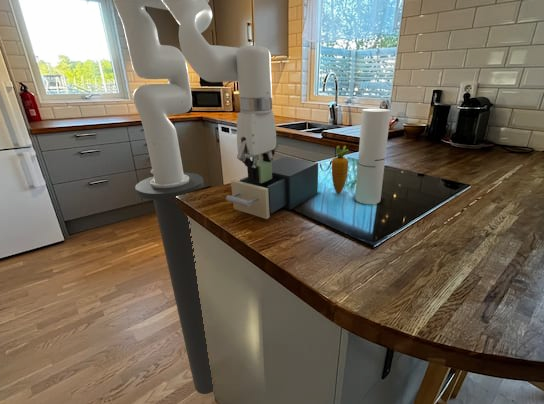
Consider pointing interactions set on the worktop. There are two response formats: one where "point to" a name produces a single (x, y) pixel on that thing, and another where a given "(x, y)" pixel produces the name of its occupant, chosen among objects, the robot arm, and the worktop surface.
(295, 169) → the cabinet
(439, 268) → the worktop surface
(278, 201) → the drawer
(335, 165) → the carrot
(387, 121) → the cylindrical container
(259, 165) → the block
